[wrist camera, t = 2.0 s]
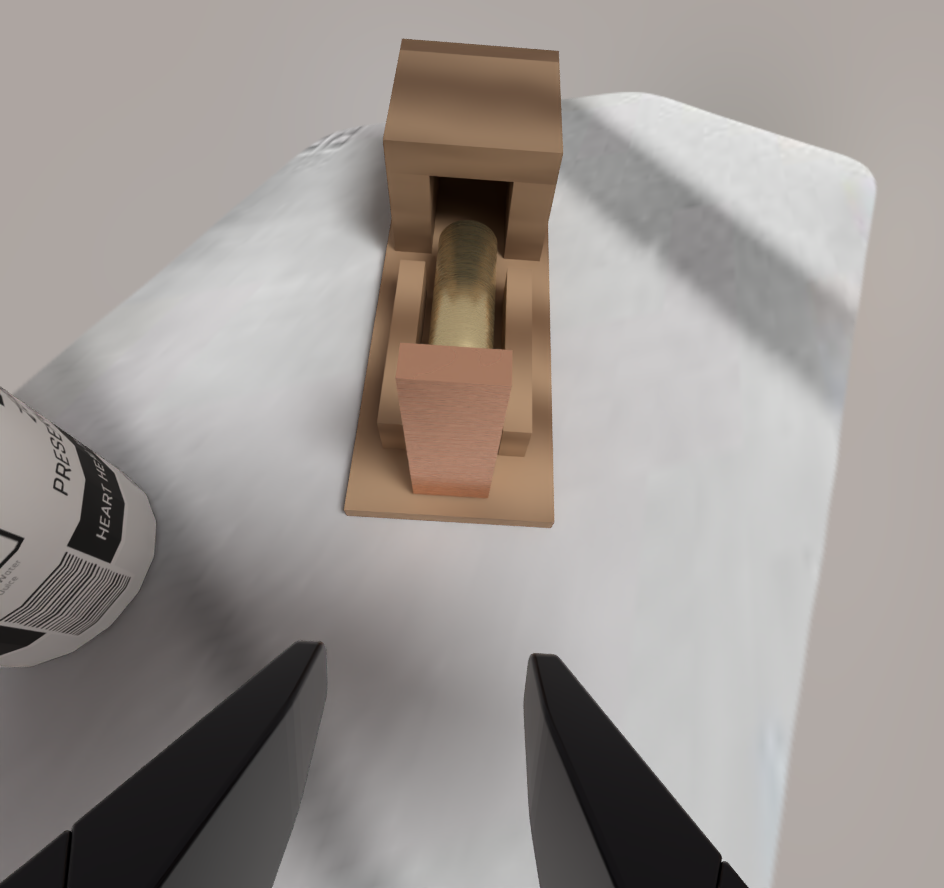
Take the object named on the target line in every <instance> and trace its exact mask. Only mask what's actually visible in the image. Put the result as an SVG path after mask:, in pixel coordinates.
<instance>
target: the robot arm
mask: <svg viewBox="0 0 944 888" xmlns="http://www.w3.org/2000/svg"><path fill="white" fill-rule="evenodd" d="M326 694H327V659H326V647H325V644H324V643H323V642H320V641H303V640H301V641H297V642H295V643H294V644H292V645H291V646H290V647H289V648H287V649H286V650H285V651H284V652H283V653H281V654H280V655H279V656H278V657H276V658H275V659H274V660H273V661H272V662H270V663H269V664H268V665H267V666H266V667H264V668H263V669H262V670H261V671H259V672H258V673H257V674H256V675H255V676H253V677H252V678H251V679H250V680H248V681H247V682H246V683H245V684H244V685H242V686H241V687H240V688H239V689H238V690H236V691H235V692H234V693H233V694H231V695H230V696H229V697H228V698H227V699H225V700H224V701H223V702H222V703H220V704H219V705H218V706H217V707H216V708H214V709H213V710H212V711H211V712H210V713H208V714H207V715H206V716H205V717H203V718H202V719H201V720H200V721H199V722H197V723H196V724H195V725H194V726H192V727H191V728H190V729H189V730H188V731H186V732H185V733H184V734H183V735H181V736H180V737H179V738H178V739H177V740H175V741H174V742H173V743H172V744H171V745H169V746H168V747H167V748H166V749H164V750H163V751H162V752H161V753H160V754H158V755H157V756H156V757H155V758H153V759H152V760H151V761H150V762H149V763H147V764H146V765H145V766H144V767H143V768H141V769H140V770H139V771H138V772H136V773H135V774H134V775H133V776H132V777H130V778H129V779H128V780H127V781H125V782H124V783H123V784H122V785H121V786H119V787H118V788H117V789H116V790H115V791H113V792H112V793H111V794H110V795H108V796H107V797H106V798H105V799H104V800H102V801H101V802H100V803H99V804H97V805H96V806H95V807H94V808H93V809H91V810H90V811H89V812H88V813H87V814H85V815H84V816H83V817H82V818H80V819H79V820H78V821H77V822H76V823H74V825H73V826H72V832H71V831H69V830H67V831H64V832H63V833H62V834H61V835H59V836H58V837H57V838H56V839H54V840H53V841H52V842H51V843H50V844H48V845H47V846H46V847H45V848H43V849H42V850H41V851H40V852H39V853H37V854H36V855H35V856H34V857H33V858H31V859H30V860H29V861H28V862H26V863H25V864H24V865H23V866H21V867H20V868H19V869H17V870H16V871H15V872H14V873H12V874H11V875H10V876H9V877H7V878H6V879H5V880H4V881H2V882H1V883H0V888H272V886H273V883H274V880H275V877H276V874H277V872H278V869H279V866H280V863H281V860H282V857H283V855H284V852H285V849H286V846H287V843H288V840H289V837H290V835H291V832H292V829H293V826H294V823H295V820H296V817H297V814H298V810H299V807H300V803H301V799H302V796H303V792H304V788H305V784H306V780H307V776H308V771H309V767H310V763H311V759H312V755H313V751H314V746H315V742H316V738H317V734H318V730H319V726H320V721H321V717H322V713H323V709H324V705H325V700H326ZM524 729H525V748H526V767H527V787H528V804H529V816H530V825H531V833H532V840H533V846H534V853H535V859H536V865H537V872H538V878H539V884H540V888H748V886H747V885H746V884H745V883H744V882H743V880H742V879H741V878H740V877H739V875H738V874H737V873H736V872H735V871H734V869H733V868H732V867H731V866H730V865H729V863H728V862H726V861H723V862H722V863H721V861H722V856H721V854H720V853H719V852H718V850H717V849H716V848H715V847H714V845H713V844H712V843H711V842H710V841H709V839H708V838H707V837H706V836H705V834H704V833H703V832H702V831H701V830H700V828H699V827H698V826H697V825H696V823H695V822H694V821H693V820H692V819H691V817H690V816H689V815H688V814H687V813H686V811H685V810H684V809H683V808H682V806H681V805H680V804H679V803H678V802H677V800H676V799H675V798H674V797H673V795H672V794H671V793H670V792H669V791H668V789H667V788H666V787H665V786H664V784H663V783H662V782H661V781H660V780H659V778H658V777H657V776H656V775H655V774H654V772H653V771H652V770H651V769H650V767H649V766H648V765H647V764H646V763H645V761H644V760H643V759H642V758H641V756H640V755H639V754H638V753H637V752H636V750H635V749H634V748H633V747H632V746H631V744H630V743H629V742H628V741H627V739H626V738H625V737H624V736H623V735H622V733H621V732H620V731H619V730H618V728H617V727H616V726H615V725H614V724H613V722H612V721H611V720H610V719H609V717H608V716H607V715H606V714H605V713H604V711H603V710H602V709H601V708H600V707H599V705H598V704H597V703H596V702H595V700H594V699H593V698H592V697H591V696H590V694H589V693H588V692H587V691H586V689H585V688H584V687H583V686H582V685H581V683H580V682H579V681H578V680H577V678H576V677H575V676H574V675H573V674H572V672H571V671H570V670H569V669H568V668H567V666H566V665H565V664H564V663H563V661H562V660H561V659H560V658H559V657H558V656H557V655H554V654H541V653H533V654H531V655H530V657H529V660H528V668H527V676H526V684H525V692H524Z"/></svg>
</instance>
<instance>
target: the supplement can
mask: <svg viewBox="0 0 944 888" xmlns="http://www.w3.org/2000/svg"><path fill="white" fill-rule="evenodd" d="M155 535H156V520H155V517H154V515H153V512H152V509H151V506H150V504H149V501H148V498H147V495H146V494H145V493H144V492H143V491H142V490H141V489H140V488H139V487H138V486H137V485H136V484H135V483H134V482H133V481H132V480H131V479H130V478H129V477H128V476H127V475H126V474H124V473H123V472H121V471H120V470H119V469H117V468H116V467H114V466H113V465H111V464H110V463H109V462H107V461H106V460H104V459H103V458H101V457H100V456H99V455H97V454H96V453H94V452H93V451H91V450H90V449H89V448H87V447H86V446H84V445H83V444H81V443H80V442H79V441H77V440H76V439H74V438H73V437H71V436H70V435H69V434H67V433H66V432H64V431H63V430H61V429H60V428H59V427H57V426H56V425H54V424H53V423H51V422H50V421H49V420H47V419H46V418H44V417H43V416H41V415H40V414H39V413H37V412H36V411H34V410H33V409H31V408H30V407H29V406H27V405H26V404H24V403H23V402H21V401H20V400H19V399H17V398H16V397H14V396H13V395H11V394H10V393H9V392H7V391H5V390H4V389H3V388H1V387H0V667H32V666H35V665H37V664H40V663H43V662H46V661H49V660H52V659H54V658H57V657H60V656H63V655H66V654H69V653H72V652H74V651H75V650H77V649H78V648H79V647H81V646H82V645H84V644H85V643H87V642H88V641H89V640H91V639H92V638H94V637H95V636H97V635H98V634H99V633H101V632H102V631H104V630H105V629H107V628H108V627H109V626H111V625H112V623H113V622H114V621H115V620H116V619H117V617H118V616H119V615H120V614H121V613H122V611H123V610H124V609H125V608H126V607H127V605H128V604H129V603H130V602H131V601H132V599H133V598H134V597H135V596H136V595H137V593H138V592H139V590H140V588H141V585H142V583H143V581H144V578H145V576H146V574H147V571H148V569H149V567H150V564H151V562H152V560H153V558H154V550H155Z"/></svg>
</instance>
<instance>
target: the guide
mask: <svg viewBox="0 0 944 888" xmlns="http://www.w3.org/2000/svg"><path fill="white" fill-rule="evenodd" d="M559 73H560V70H559V51H551V50H538V49H527V48H514V47H501V46H488V45H487V46H486V45H476V44H462V43H449V42H437V41H425V40H424V41H423V40H412V39H402V43H401V48H400V53H399V58H398V64H397V68H396V74H395V79H394V84H393V89H392V95H391V100H390V105H389V110H388V116H387V121H386V126H385V131H384V136H383V146H384V155H385V164H386V173H387V181H388V190H389V199H390V208H391V217H392V218H391V224H390V231H389V237H388V243H387V249H386V255H385V261H384V267H383V273H382V279H381V286H380V292H379V298H378V304H377V310H376V316H375V322H374V328H373V334H372V341H371V347H370V353H369V359H368V365H367V371H366V377H365V383H364V390H363V396H362V402H361V408H360V414H359V420H358V426H357V432H356V438H355V445H354V451H353V457H352V463H351V469H350V475H349V481H348V487H347V493H346V500H345V506H344V511H345V513H346V515H347V516H361V517H378V518H394V519H411V520H427V521H444V522H460V523H477V524H493V525H510V526H526V527H543V528H551V527H552V525H553V524H554V487H553V440H552V393H551V346H550V299H549V252H548V221H549V216H550V211H551V207H552V202H553V198H554V193H555V188H556V184H557V179H558V174H559V170H560V165H561V160H562V156H563V141H562V117H561V95H560V74H559ZM461 220H473V221H477V222H480V223H482V224H484V225H486V226H487V227H489V228H490V229H491V230H492V231H493V233H494V234H495V236H496V239H497V264H496V291H495V318H494V344H493V349H502V350H513V353H512V388H511V393H510V397H509V402H508V407H507V411H506V416H505V421H504V426H503V430H502V435H501V440H500V444H499V449H498V454H497V458H496V463H495V468H494V473H493V477H492V482H491V487H490V491H489V496H488V498H474V497H457V496H441V495H425V494H413V488H412V481H411V475H410V469H409V462H408V456H407V449H406V443H405V437H404V430H403V424H402V418H401V411H400V405H399V398H398V392H397V386H396V379H395V377H396V370H397V362H398V355H399V347H400V343H413V344H428V340H429V330H430V321H431V311H432V302H433V292H434V283H435V273H436V264H437V254H438V244H439V237H440V234H441V232H442V231H443V230H444V228H446V227H447V226H448V225H450V224H451V223H453V222H456V221H461Z"/></svg>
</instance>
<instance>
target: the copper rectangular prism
mask: <svg viewBox="0 0 944 888" xmlns="http://www.w3.org/2000/svg"><path fill="white" fill-rule="evenodd" d="M496 264H497V239H496V236H495V234H494V233H493V231H492V230H491V229H490V228H489V227H487V226H486V225H484V224H482V223H480V222H477V221H473V220H461V221H456V222H453V223H451V224H450V225H448V226H447V227H446V228H444V230H443V231H442V232H441V234H440V237H439V244H438V254H437V264H436V273H435V283H434V292H433V302H432V311H431V321H430V330H429V340H428V344H413V343H400V347H399V355H398V362H397V370H396V377H395V379H396V386H397V392H398V398H399V405H400V411H401V418H402V424H403V430H404V437H405V443H406V449H407V456H408V462H409V469H410V475H411V481H412V488H413V494H425V495H441V496H457V497H474V498H488V496H489V491H490V487H491V482H492V477H493V473H494V468H495V463H496V458H497V454H498V449H499V444H500V440H501V435H502V430H503V426H504V421H505V416H506V411H507V407H508V402H509V397H510V393H511V388H512V353H513V350H502V349H493V344H494V318H495V291H496Z"/></svg>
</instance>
